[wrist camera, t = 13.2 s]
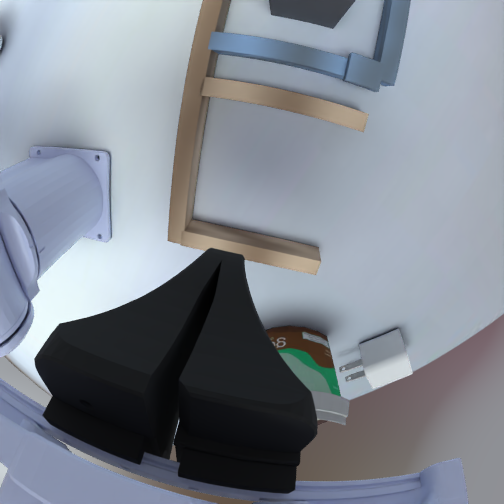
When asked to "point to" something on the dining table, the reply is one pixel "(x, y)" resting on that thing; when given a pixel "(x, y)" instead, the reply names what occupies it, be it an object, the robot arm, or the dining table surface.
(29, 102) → the dining table surface
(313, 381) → the food container
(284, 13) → the charcoal rectangular prism
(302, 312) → the dining table surface
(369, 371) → the usb wall charger
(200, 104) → the wooden rack
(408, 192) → the dining table surface
